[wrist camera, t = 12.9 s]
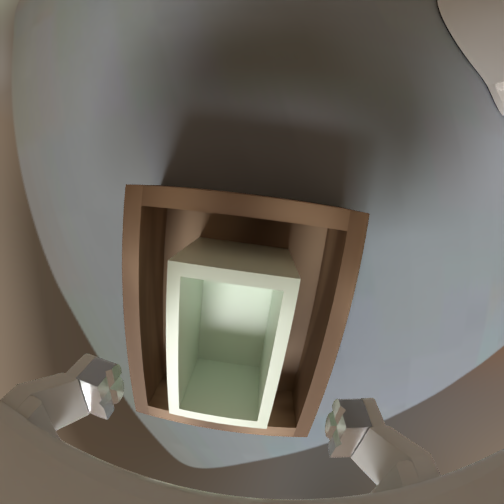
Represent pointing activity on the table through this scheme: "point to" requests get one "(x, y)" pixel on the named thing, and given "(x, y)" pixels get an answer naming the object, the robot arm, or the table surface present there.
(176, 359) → the sage crate
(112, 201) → the table surface
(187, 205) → the walnut crate
